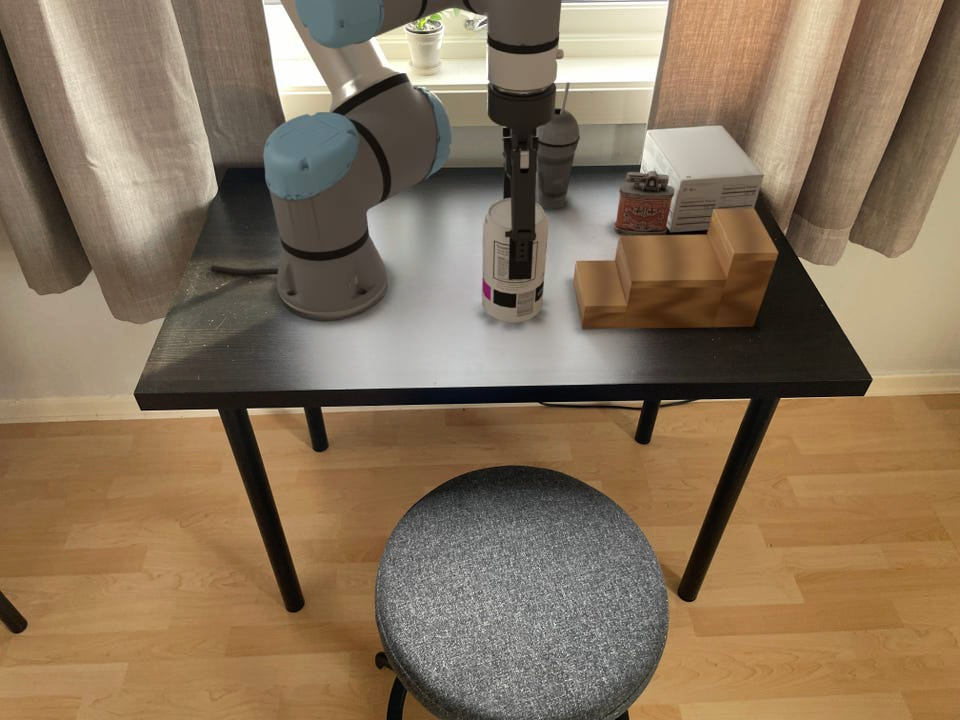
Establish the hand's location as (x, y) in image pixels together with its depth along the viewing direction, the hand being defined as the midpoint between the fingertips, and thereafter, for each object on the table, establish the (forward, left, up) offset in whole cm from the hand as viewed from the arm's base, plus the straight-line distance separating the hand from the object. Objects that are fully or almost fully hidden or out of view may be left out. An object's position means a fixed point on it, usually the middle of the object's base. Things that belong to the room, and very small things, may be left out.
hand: (516, 245), depth 94 cm
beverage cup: (+8, +27, -10) cm, 30 cm away
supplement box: (+31, +26, -10) cm, 42 cm away
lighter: (+21, +18, -10) cm, 29 cm away
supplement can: (0, 0, -10) cm, 10 cm away
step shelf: (+20, 0, -10) cm, 23 cm away
